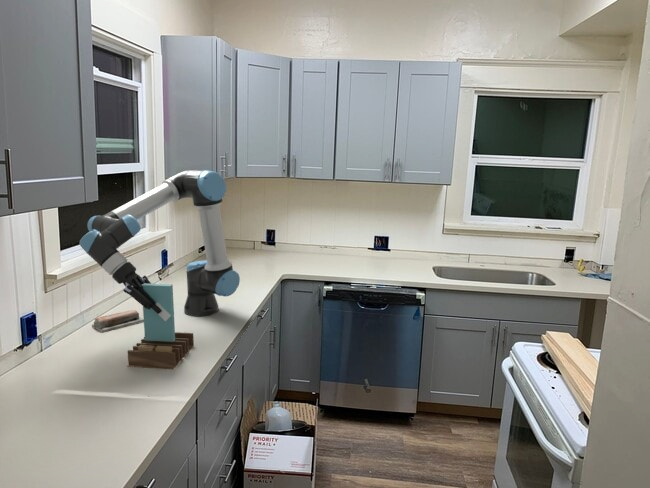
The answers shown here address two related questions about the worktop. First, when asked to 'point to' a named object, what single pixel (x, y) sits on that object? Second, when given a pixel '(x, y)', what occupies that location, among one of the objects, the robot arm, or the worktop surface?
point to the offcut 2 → (163, 349)
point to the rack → (161, 353)
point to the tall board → (152, 321)
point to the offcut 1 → (146, 348)
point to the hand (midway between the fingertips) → (169, 316)
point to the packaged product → (117, 321)
